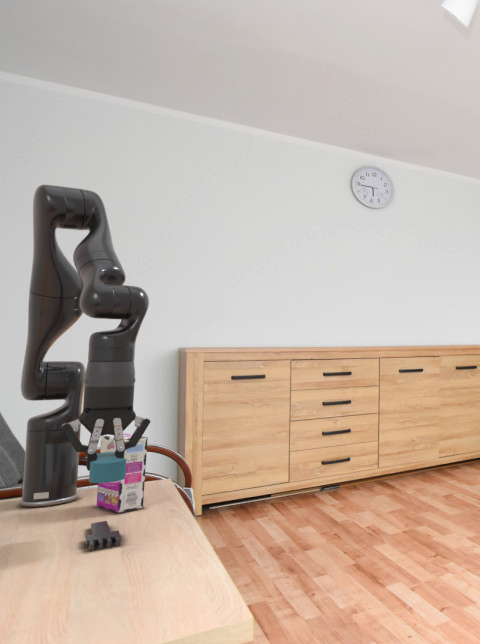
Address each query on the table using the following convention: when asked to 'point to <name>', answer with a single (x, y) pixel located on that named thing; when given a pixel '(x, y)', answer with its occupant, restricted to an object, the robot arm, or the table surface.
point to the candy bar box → (131, 488)
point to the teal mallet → (107, 468)
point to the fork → (102, 536)
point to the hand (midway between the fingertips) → (104, 470)
